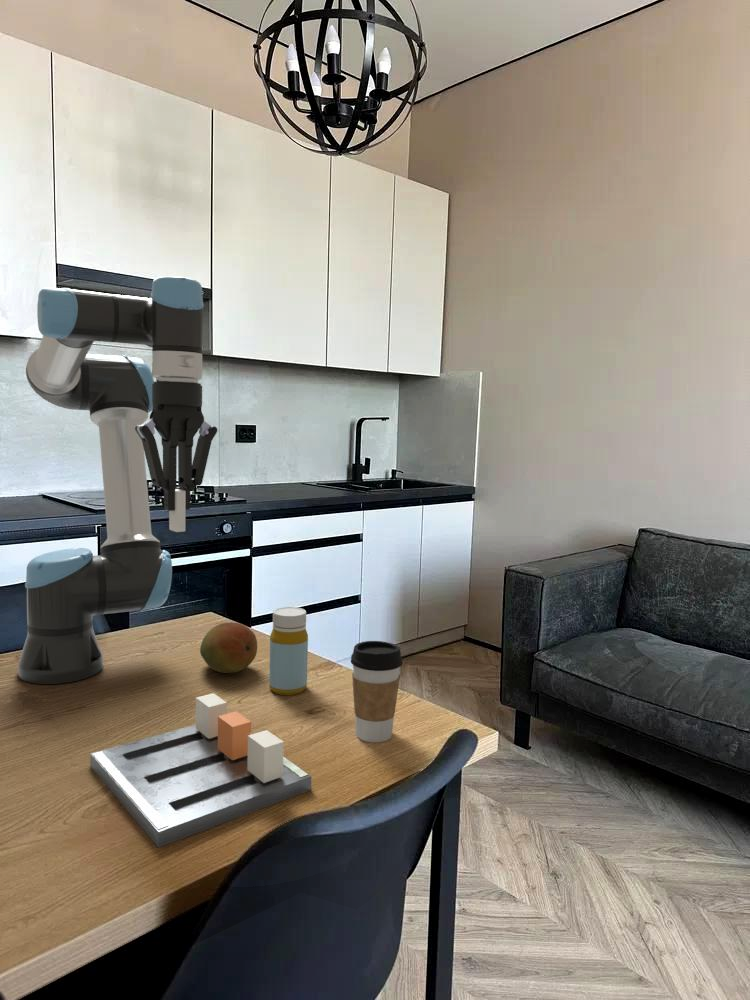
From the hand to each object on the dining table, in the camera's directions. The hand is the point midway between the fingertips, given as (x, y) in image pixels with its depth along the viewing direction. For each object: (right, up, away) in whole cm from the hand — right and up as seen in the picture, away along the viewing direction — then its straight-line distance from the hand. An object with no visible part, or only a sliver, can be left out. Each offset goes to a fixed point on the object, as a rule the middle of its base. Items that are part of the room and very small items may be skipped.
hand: (177, 530), depth 113 cm
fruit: (+2, -29, +28) cm, 41 cm away
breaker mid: (+11, -33, -9) cm, 36 cm away
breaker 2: (+16, -34, -15) cm, 41 cm away
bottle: (+15, -31, +20) cm, 40 cm away
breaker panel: (+7, -35, -13) cm, 37 cm away
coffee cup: (+31, -34, +3) cm, 46 cm away
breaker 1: (+6, -32, -3) cm, 33 cm away
